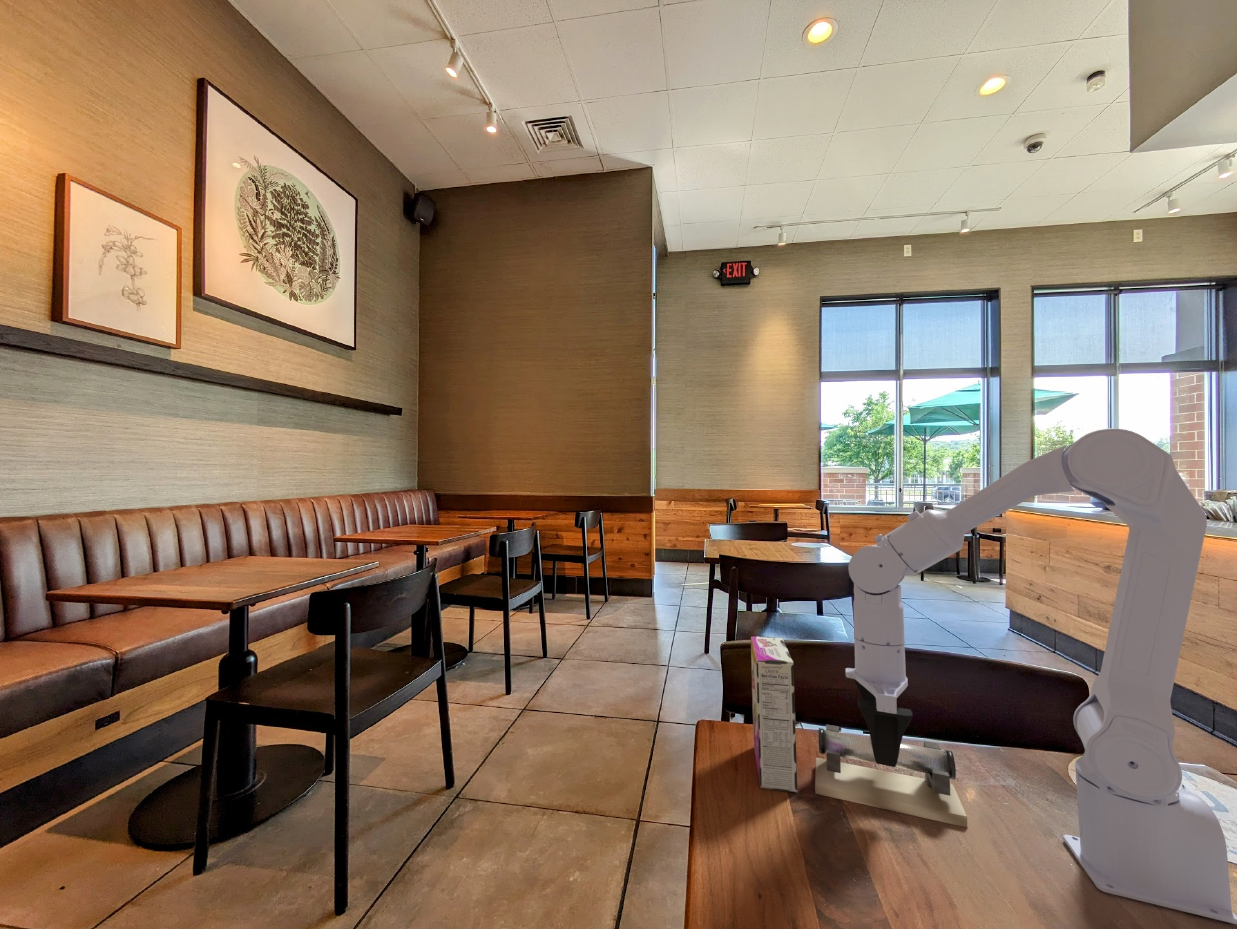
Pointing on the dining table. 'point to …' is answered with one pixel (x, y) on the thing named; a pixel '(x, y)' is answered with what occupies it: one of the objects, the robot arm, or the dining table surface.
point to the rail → (907, 758)
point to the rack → (890, 788)
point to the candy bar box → (774, 714)
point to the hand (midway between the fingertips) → (882, 748)
